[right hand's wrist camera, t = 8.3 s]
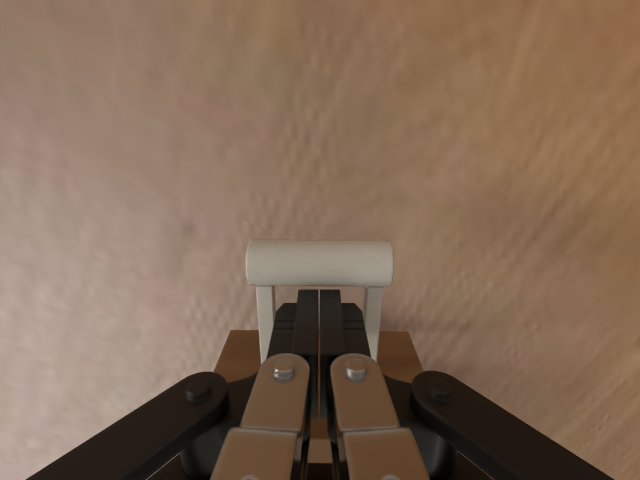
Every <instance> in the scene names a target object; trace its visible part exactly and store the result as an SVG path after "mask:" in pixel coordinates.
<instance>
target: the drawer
mask: <svg viewBox="0 0 640 480" xmlns="http://www.w3.org/2000/svg"><path fill="white" fill-rule="evenodd" d="M393 272H394V256H393V249H392V245H391V243H390V242H389V241H354V240H250V241H249V244H248V247H247V252H246V277H247V281H248V283H249V285H257V286H256V294H257V309H258V323H259V330H231V331H230V333H229V336H228V338H227V340H226V343H225V345H224V348H223V350H222V353H221V355H220V357H219V360H218V362H217V365H216V367H215V369H214V373H218V374H220V375H221V376H223V377H224V378H225V380H226V382H227V383H229V382H233V381H237V380H241V379H244V378H247V377H249V376H251V375H253V374H255V373H256V372H257V371H258V370H259V368H260V366H261V364H262V363H263V362H264V361H265V360H266V357H267V353H268V348H269V343H270V339H271V334H272V330H273V325H274V321H275V316H276V305H275V286H365V290H364V306H363V320H364V325H365V330H366V334H367V339H368V344H369V349H370V353H371V358H372V359H374V360H375V361H376V362H377V363H378V364H379V366H380V368H381V371H382V373H383V374H384V375H386V376H388V377H390V378H393V379H396V380H400V381H404V382H408V383H412V380H413V379H414V377H415V376H416V375H418V374H419V373H422V372H423V369H422V366H421V364H420V361H419V359H418V356H417V353H416V351H415V348H414V346H413V343H412V340H411V338H410V335H409V333H408V332H379V330H380V318H381V306H382V294H383V287H388V286H390V285H391V283H392V279H393ZM307 480H333V474H332V464H331V455H330V446H329V436H328V433H327V418H320V331H318V418H311V446H310V455H309V464H308V473H307Z"/></svg>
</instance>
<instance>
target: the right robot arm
mask: <svg viewBox="0 0 640 480" xmlns="http://www.w3.org/2000/svg"><path fill="white" fill-rule="evenodd" d="M311 418H318V290H299V291H298V299H297V303H284V304H283V305H282V306H281V307H280V308H279V309H278V310H277V311H276V316H275V321H274V325H273V330H272V334H271V339H270V343H269V348H268V353H267V357H266V360H265V361H264V362H263V363H262V364H261V366H260V368H259V370H258V371H257V372H256V373H255V374H253V375H251V376H249V377H247V378H244V379H241V380H237V381H233V382H229V383H227V382H226V380H225V378H224V377H223V376H221V375H220V374H218V373H214V372H200V373H196V374H193V375H190V376H188V377H186V378H184V379H183V380H181V381H180V382H178V383H176V384H175V385H173V386H172V387H170V388H169V389H167V390H166V391H164V392H162V393H161V394H159V395H158V396H156V397H155V398H153V399H151V400H150V401H148V402H147V403H145V404H144V405H142V406H140V407H139V408H137V409H136V410H134V411H133V412H131V413H129V414H128V415H126V416H125V417H123V418H122V419H120V420H118V421H117V422H115V423H114V424H112V425H111V426H109V427H107V428H106V429H104V430H103V431H101V432H100V433H98V434H97V435H95V436H93V437H92V438H90V439H89V440H87V441H86V442H84V443H82V444H81V445H79V446H78V447H76V448H75V449H73V450H71V451H70V452H68V453H67V454H65V455H64V456H62V457H60V458H59V459H57V460H56V461H54V462H53V463H51V464H49V465H48V466H46V467H45V468H43V469H42V470H40V471H38V472H37V473H35V474H34V475H32V476H31V477H29V478H27V479H26V480H146V479H147V478H148V479H147V480H307V473H308V464H309V455H310V446H311ZM320 418H327V433H328V436H329V446H330V455H331V464H332V474H333V480H493V479H494V480H614V479H612V478H611V477H609V476H608V475H606V474H605V473H603V472H602V471H600V470H598V469H597V468H595V467H594V466H592V465H591V464H589V463H587V462H586V461H584V460H583V459H581V458H580V457H578V456H576V455H575V454H573V453H572V452H570V451H569V450H567V449H565V448H564V447H562V446H561V445H559V444H558V443H556V442H554V441H553V440H551V439H550V438H548V437H547V436H545V435H543V434H542V433H540V432H539V431H537V430H536V429H534V428H533V427H531V426H529V425H528V424H526V423H525V422H523V421H522V420H520V419H518V418H517V417H515V416H514V415H512V414H511V413H509V412H507V411H506V410H504V409H503V408H501V407H500V406H498V405H496V404H495V403H493V402H492V401H490V400H489V399H487V398H485V397H484V396H482V395H481V394H479V393H478V392H476V391H474V390H473V389H471V388H470V387H468V386H467V385H465V384H463V383H462V382H460V381H459V380H457V379H456V378H454V377H452V376H450V375H448V374H445V373H442V372H438V371H425V372H422V373H419V374H418V375H416V376H415V377H414V379H413V380H412V383H408V382H404V381H400V380H396V379H393V378H390V377H388V376H386V375H384V374H383V373H382V371H381V368H380V366H379V364H378V363H377V362H376V361H375V360H374V359H372V358H371V353H370V349H369V344H368V339H367V334H366V330H365V325H364V320H363V315H362V311H361V310H360V309H359V308H358V307H357V306H356V305H355V303H341V298H340V290H320ZM458 451H459V452H460V453H459V452H458ZM178 453H179V454H178ZM461 453H462V454H463V455H464V456H465V457H464V456H463V455H462V454H461ZM177 454H178V455H177ZM176 455H177V456H176ZM175 456H176V457H175ZM173 457H174V458H173ZM466 457H467V458H468V459H469V460H470V461H469V460H468V459H467V458H466ZM172 458H173V459H172ZM171 459H172V460H171ZM170 460H171V461H170ZM168 461H169V462H168ZM471 461H472V462H473V463H474V464H475V465H474V464H473V463H472V462H471ZM167 462H168V463H167ZM166 463H167V464H166ZM165 464H166V465H165ZM163 465H164V466H163ZM476 465H477V466H478V467H479V468H480V469H482V470H483V471H484V472H485V473H486V474H485V473H484V472H483V471H482V470H480V469H479V468H478V467H477V466H476ZM162 466H163V467H162ZM161 467H162V468H161ZM160 468H161V469H160ZM158 469H160V470H158ZM157 470H158V471H157ZM156 471H157V472H156ZM155 472H156V473H155ZM153 473H155V474H153ZM152 474H153V475H152ZM487 474H488V475H489V476H490V477H491V478H490V477H489V476H488V475H487ZM151 475H152V476H151ZM150 476H151V477H150ZM149 477H150V478H149ZM492 478H493V479H492Z"/></svg>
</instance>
